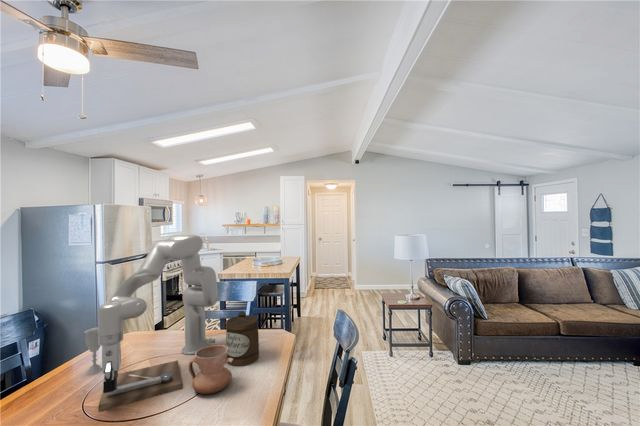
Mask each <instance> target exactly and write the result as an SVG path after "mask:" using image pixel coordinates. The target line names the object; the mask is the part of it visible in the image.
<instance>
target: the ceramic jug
mask: <svg viewBox="0 0 640 426" xmlns="http://www.w3.org/2000/svg"><path fill="white" fill-rule="evenodd" d="M227 355H228V347H227V346H226V345H224V344H214V345H209V346H207V347H203V348H201V349H199V350H197V351H196V353H195V354H194V356H195V357H192V358H191V359H190V360H189V361H188V372H189V374H190V376H191V378H192V385H191V387H192V389H193V390H194V391H195V392H196V393H198V394H202V395H209V394H215V393H218V392H220V391H222V390H224V389H225V388H227V387H228V385H229V384H230V383H231V382H232V380H233V374H232V371H231V370H230V369H229V368H228V367H225V364H228V363H227V362H230V363H231V362H232V360H233V358H227ZM193 363H194V364H197V367H198V369H199V372H198V373H197V374H196V373H195V371H194V367H193Z"/></svg>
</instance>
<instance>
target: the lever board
mask: <svg viewBox="0 0 640 426" xmlns="http://www.w3.org/2000/svg"><path fill="white" fill-rule="evenodd" d="M165 372H173V379H172V380H171V381H169V382H166V383H158V384H154V385H150V386H146V387H142V388H138V389H134V390H130V391H126V392H122V393H118V394H114V395H111V396H107V393H103V391H102V393H101V395H100V399H99V402H98V405H97V406H98V407H97V409H98V412H101V411H105V410H109V409H112V408H116V407H120V406H124V405H128V404H130V402H131V403H134V401H135V402H137V401H142V400H146V399H149V398H152V397H156V396H159V394H160V395H164V394H167V393H171V392H174V391H173V390H175V391H178V390H181V388H182V386H183V384H182V377H181V373H180V366H179V360H177V359H176V360H173V361H169V362H164V363H161V364H156V365H151V366H147V367H143V368H139V369H134V370H129V371H125V372H121V373H118V377H117V387H118V386H122V385H126V384H130V383H134V382H138V381H142V380H146V379H150V378H154V377H159V376H161V374H163V373H165ZM177 389H178V390H177ZM170 391H171V392H170ZM163 393H164V394H163ZM141 399H142V400H141ZM123 404H124V405H123Z"/></svg>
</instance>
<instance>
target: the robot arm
mask: <svg viewBox="0 0 640 426" xmlns="http://www.w3.org/2000/svg"><path fill="white" fill-rule="evenodd" d="M202 248H203V239H202V238H201V236H199V235H196V234H176V235H175V234H174V235H171V236H169V237H168V238H167V240H159V241H156V242H155V243H154V244H152V246H151V248H150V249H149V252H148V253H147V255H146V256H145V257H144V260H143V262H142V263H141V265H140V266H139V268H138V270H137V271H136V272H134V273H132V274H131V275H130V276H129V277H128V278H126V279H125V280H124V281H122V283H120V285H119V286H118V287H117V288H116V290H115V292H114V293H113V294H112V296H111V298H110V300H109V302H105V303H103V304H101V305H99V307H98V311H97V325H98V326H97V327H98V345H100V347H101V369H102V370H101V371H102V374H103V390H102V392H103V393H107V392H111V391H114V390H115V378H114V371H117V377H118V374H119V373H118V372H119V370H120V368H121V363H122V348H121V345H122V344H121V342H122V341H124V321H125V320H131V319H135V318H138V317H141V316H142V315H143V314H145V312H146V311H147V308H148V305H147V304H148V303H147V302H146V300H145V299H144V298H140V297H135V296H134V297H133V295H134V293H135V292H137V290H139V289H140V288H142V287H143V286H145V285H147V284H151V283H152V282H154V281H157V280H158V279H159V278H160V277H161V275H162V272H163V271H164V269H165V267H166V265H167V264H168V261H179V260H180V261H181V267H182V274H183V275H182V277H183V281H184V283H185V284H186V285H189V286H190V287H187V288H186V289H185V290H184V291H183V294H182V304H183V309H184V339H185V340H184V346H182V349H181V353H183V354H184V355H189V356H190V355H195V353H196V351H197V350H199V349H201V348H203V347H207V346H210V344H213V343H216V338H212V337H210V338H207V337H206V310H205V308H212V307H213V306H215V305H216V303H217V302H218V297H219V291H218V290H219V289H218V280H217V279H218V278H217V274H216V271H215V270H214V268H213V267H211V266H206V265H205V266H203V265H202V263H201V256H200V254H199V252H200V251H201V250H202ZM111 369H113V370H111ZM110 373H112V375H111V374H110Z"/></svg>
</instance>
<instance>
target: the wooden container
mask: <svg viewBox="0 0 640 426" xmlns="http://www.w3.org/2000/svg"><path fill="white" fill-rule="evenodd" d="M258 320H259V319H258V317H257V316H256V315H251V314H246V311H243V310H241V311H239V312H238V313H237V316H233V317H230V318H228V319H227V320H226V321H225V333H226V337H225V339H226V340H225V342H226V343H225V344H226V345H225V346H227V347H228V355H227V358H233V360H232V362H231V363H230V362H227V363H226V364H228V365H230V366H233V367H243V366H249V365H251V364H253V363H255V362H256V361H258V360H259V358H260V349H259V348H260V342H259V341H260V340H259V338H260V337H259V321H258Z"/></svg>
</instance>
